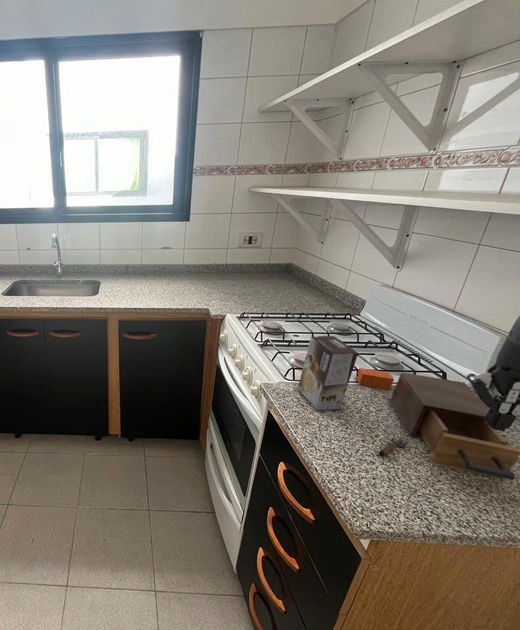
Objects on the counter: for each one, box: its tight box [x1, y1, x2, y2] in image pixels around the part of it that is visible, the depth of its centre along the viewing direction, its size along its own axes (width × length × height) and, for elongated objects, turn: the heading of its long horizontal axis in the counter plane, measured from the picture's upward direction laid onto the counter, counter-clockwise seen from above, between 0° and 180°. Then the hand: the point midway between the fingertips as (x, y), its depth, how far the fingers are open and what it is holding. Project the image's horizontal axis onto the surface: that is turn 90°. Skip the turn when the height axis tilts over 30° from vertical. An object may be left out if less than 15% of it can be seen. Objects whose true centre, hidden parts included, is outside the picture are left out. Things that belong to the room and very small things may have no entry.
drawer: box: [418, 409, 520, 481], centre depth 69 cm, size 17×11×7 cm, turn 158°
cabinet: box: [389, 372, 490, 440], centre depth 79 cm, size 14×12×9 cm
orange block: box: [355, 367, 395, 391], centre depth 94 cm, size 7×3×3 cm, turn 68°
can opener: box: [378, 437, 408, 457], centre depth 73 cm, size 9×2×1 cm, turn 112°
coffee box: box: [297, 335, 359, 411], centre depth 86 cm, size 9×6×16 cm
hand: (494, 427), depth 62 cm, fingers closed
